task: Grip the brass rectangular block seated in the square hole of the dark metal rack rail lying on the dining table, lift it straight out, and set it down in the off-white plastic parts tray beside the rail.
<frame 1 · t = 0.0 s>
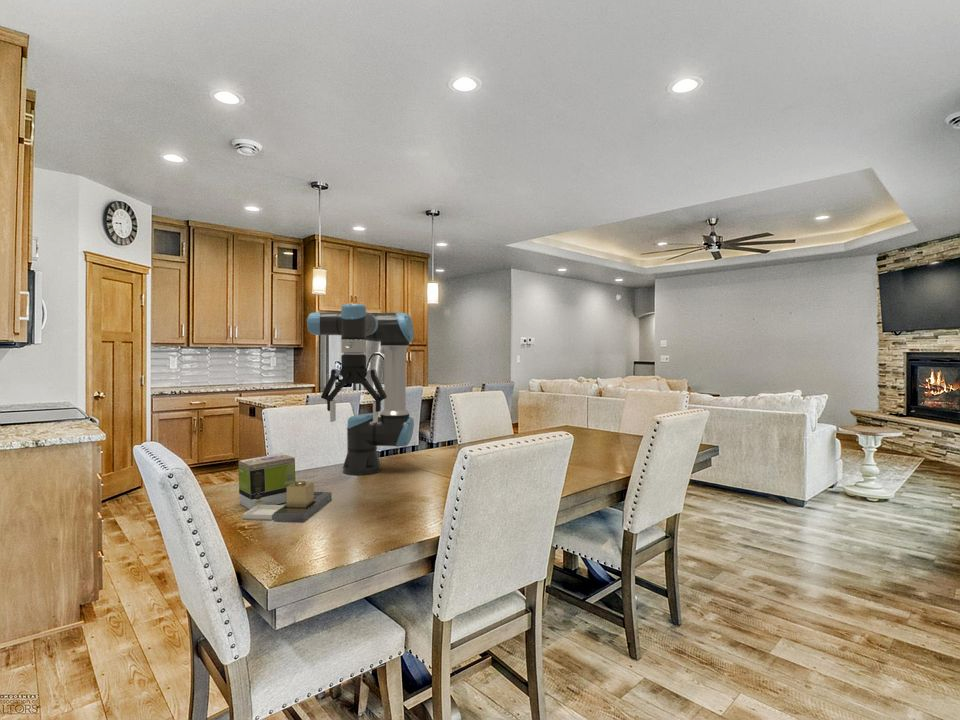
hand: (354, 421, 163), 28 cm above the table, fingers open, 13 cm apart
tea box: (267, 503, 171), on the table
parts tray: (264, 514, 159), on the table
rack rail: (304, 509, 164), on the table
brass rectangular block: (300, 512, 161), resting in rack rail
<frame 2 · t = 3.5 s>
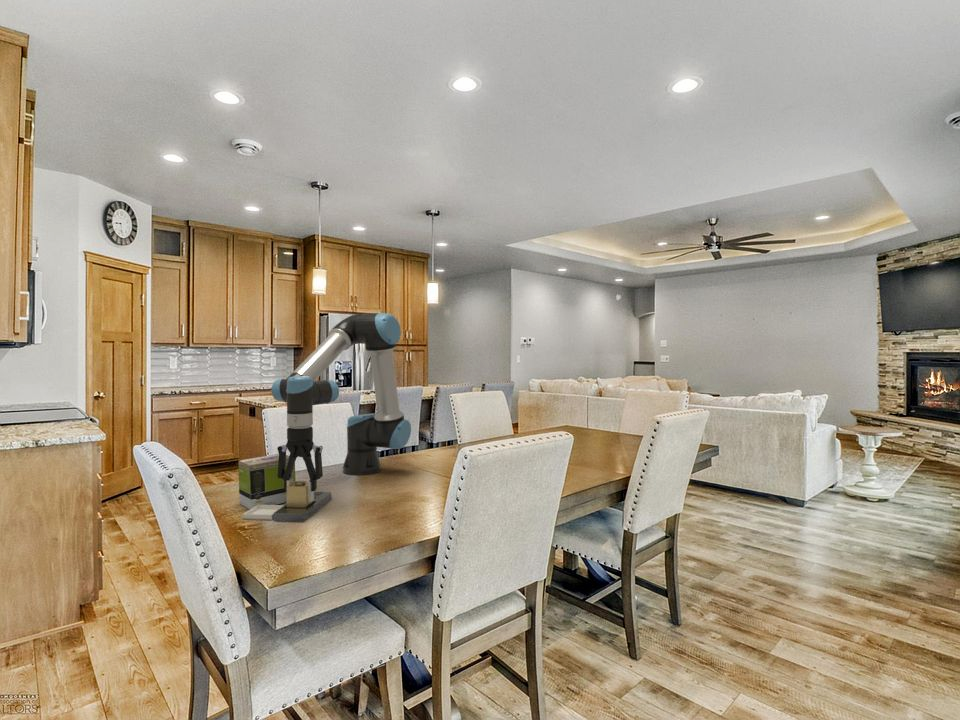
hand: (300, 500, 161), 4 cm above the table, fingers closed on brass rectangular block, 6 cm apart
brass rectangular block: (300, 512, 161), resting in rack rail, touching gripper
everything else where it was.
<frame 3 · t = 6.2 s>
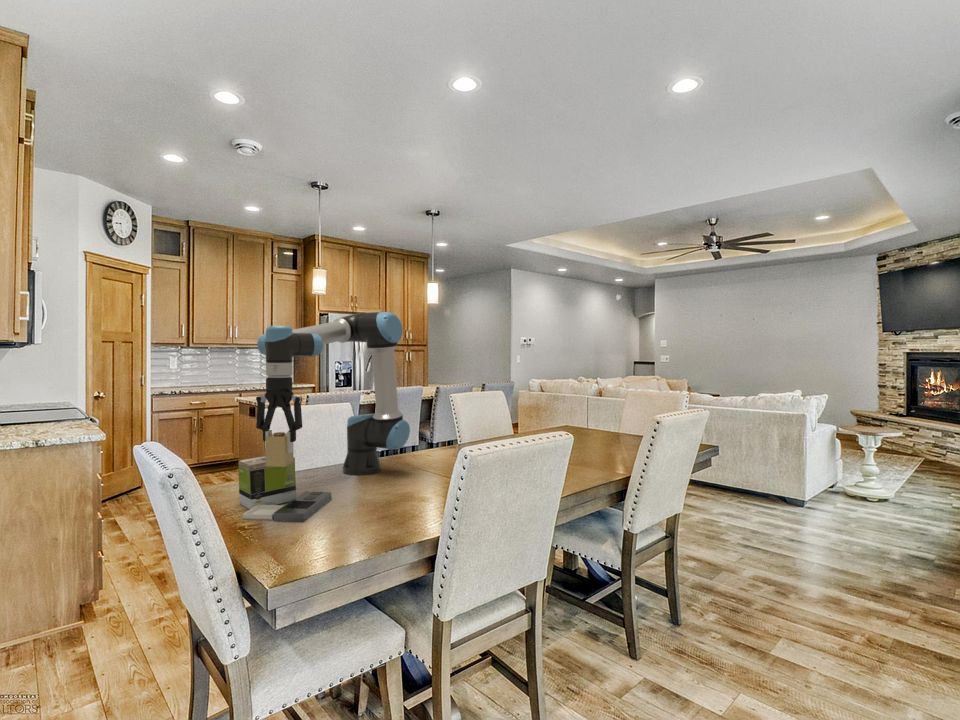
hand: (279, 452, 159), 19 cm above the table, fingers closed on brass rectangular block, 6 cm apart
brass rectangular block: (279, 464, 159), point 15 cm above the table, touching gripper
everything else where it was.
when the fingers open (6 cm above the table, at t = 8.8 s): brass rectangular block drops 2 cm, resting on parts tray.
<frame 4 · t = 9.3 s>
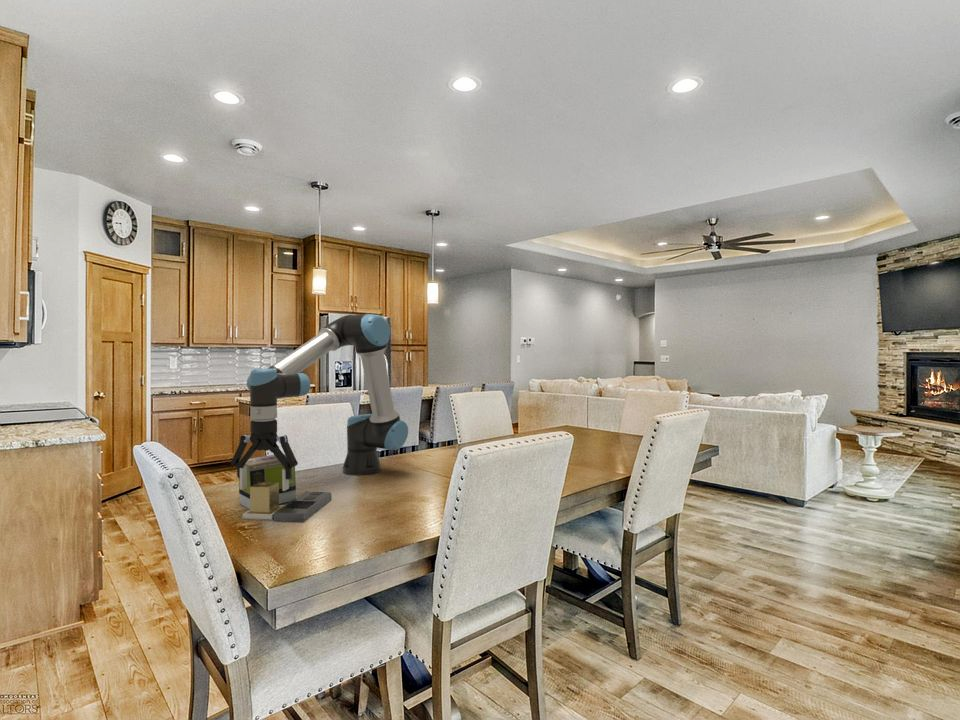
hand: (264, 489, 159), 8 cm above the table, fingers open, 13 cm apart
brass rectangular block: (264, 513, 159), resting on parts tray
everything else where it was.
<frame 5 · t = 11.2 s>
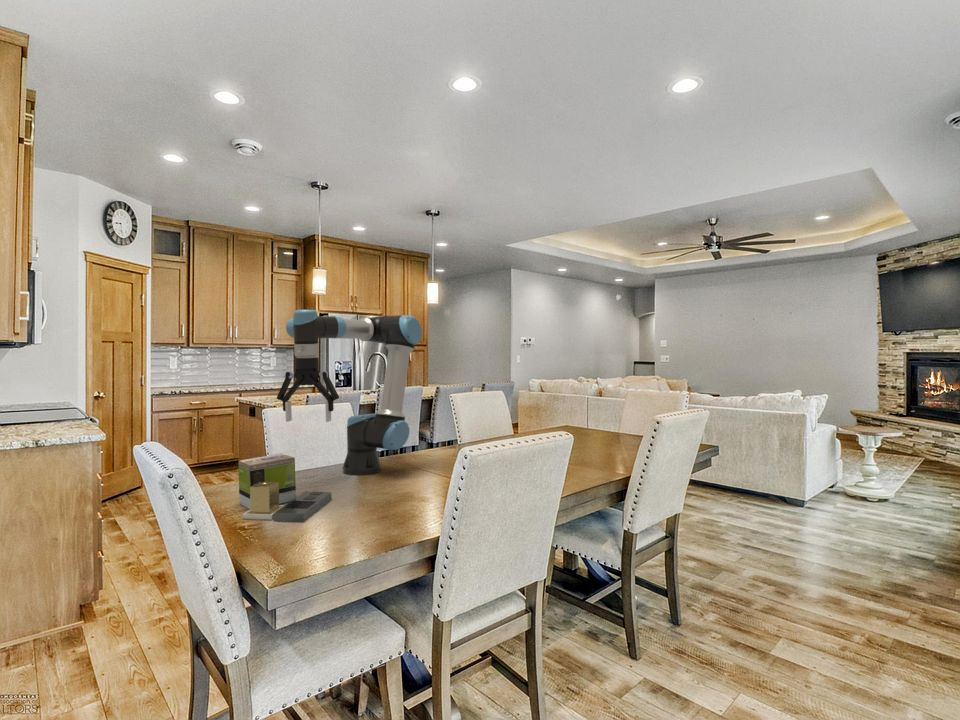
hand: (308, 421, 172), 27 cm above the table, fingers open, 13 cm apart
nothing on the table moved.
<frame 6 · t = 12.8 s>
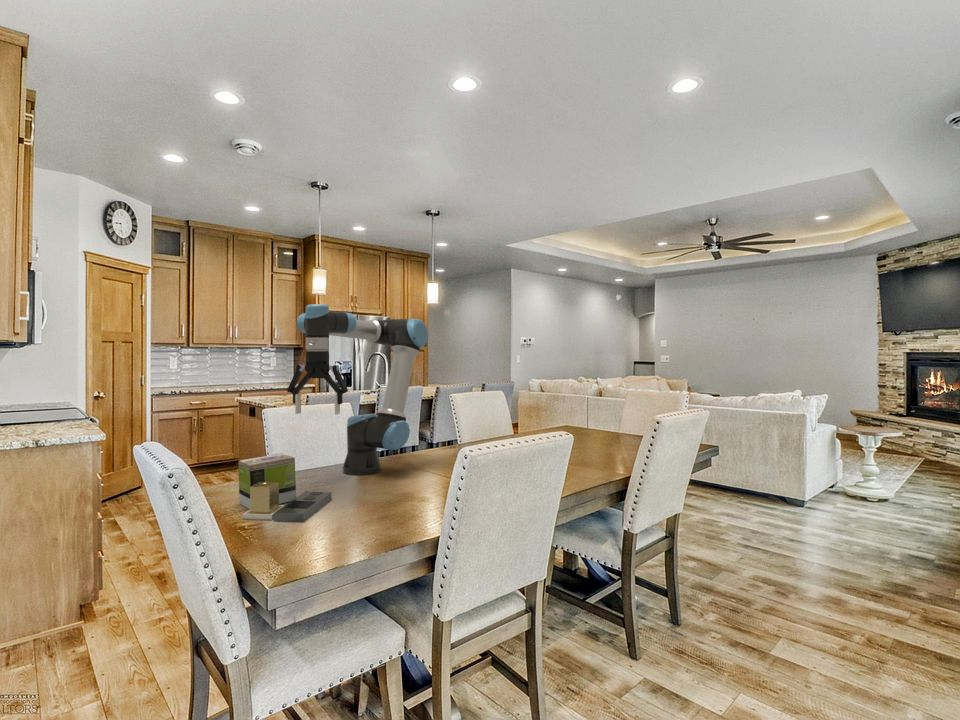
hand: (317, 413, 175), 29 cm above the table, fingers open, 13 cm apart
nothing on the table moved.
at the end: brass rectangular block 0.0 cm off-centre on the parts tray, point 0.4 cm above the parts tray's base; brass rectangular block tilted 0°; the gripper is holding nothing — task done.
